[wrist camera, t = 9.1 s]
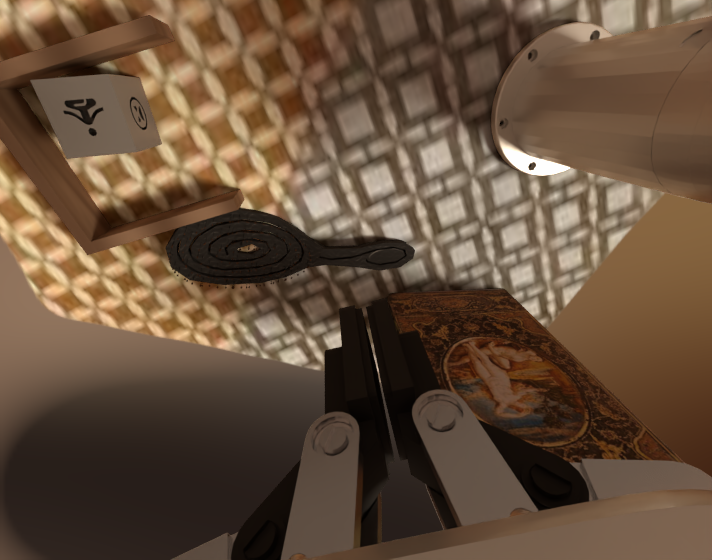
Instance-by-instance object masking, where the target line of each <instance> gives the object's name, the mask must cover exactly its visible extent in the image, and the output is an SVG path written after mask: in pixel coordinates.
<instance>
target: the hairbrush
mask: <svg viewBox="0 0 712 560" xmlns="http://www.w3.org/2000/svg"><path fill="white" fill-rule="evenodd" d="M242 219H246V220H242ZM251 220H253V221H251ZM257 221H260V222H257ZM220 222H221V223H220ZM222 222H223V223H222ZM263 222H267V223H271V224H273V225H271V224H267V223H263ZM218 223H220V224H218ZM215 224H217V225H215ZM291 224H292V223H291ZM291 224H290V222H289V223H288V221H287V222H286V221H285V220H283V219H282V218H280V217H277V216H274V215H271V214H267V213H264V212H261V211H256V210H249V209H241V208H239V209H238V210H235V211H232V212H229V213H225V214H222V215H219V216H215V217H212V218H209V219H205V220H202V221H199V222H195V223H192V224H189V225H185V226H182V227H179V228H177V229H176V230H175V231H174V233H173V235H172V237H171V239H170V241H169V243H168V245H167V246H166V250H167V254H168V257H169V262H170V264H171V267H172V268H173V269H175V272H174V273H176V271H178V273H180V274H182V275H183V276H185V278H184V280H186V278H188V279H189V280H193V281H200V282H207V283H214V284H221V285H229V284H246V283H249V285H250V283H262V282H266V281H271V280H275V279H279V278H283V277H287V276H289V275H292V274H294V273H296V272H299V271H301V270H303V269H305V268H309V267H314V266H321V265H335V266H349V267H360V268H367V269H374V270H385V269H391V268H397V267H401V266H402V265H404V264H405V263H407V262H408V261H410V260H411V259H413V256H414V252H415V250H414V249H413V247H411V246H409V245H408V244H406V242H405V243H404V241H402V240H381V241H376V242H372V243H367V244H362V245H358V246H324V245H322V244H320V243H319V242H317V241H315V240H313V239H312V238H310V237H308V236H307V235H306V234H305V233H304V232H302V231H301V230H299V229H298V228H296V226H295V227H294V226H293V225H291ZM213 225H215V226H213ZM274 225H275V226H274ZM276 226H278V227H276ZM284 229H285V230H284ZM205 230H206V231H205ZM240 230H242V231H240ZM243 230H254V231H243ZM286 230H287V231H289V232H290V233H291V234H290V233H289V232H287V231H286ZM203 231H204V232H203ZM235 231H236V232H235ZM237 231H238V232H237ZM262 231H264V232H262ZM202 232H203V233H202ZM231 232H232V233H231ZM267 232H269V233H267ZM270 232H271V233H270ZM200 233H202V234H201V235H200V236H198V237H197V238H196V239H195V240H194V242H193V245H192V246H191V250H190V245H191V243H192V241H193V239H194V238H195V236H197V235H198V234H200ZM272 233H273V234H272ZM274 234H275V235H274ZM221 235H222V236H221ZM276 235H277V236H276ZM218 237H219V238H218ZM216 238H217V239H216ZM253 238H256V239H253ZM281 238H282V239H284V241H286V243H287V244H285V242H284V241H283V240H282V239H281ZM296 238H297V239H298V240H299V242H300V243H301V245H302V247H303V249H304V252H303V254H302V248H301V245H300V243H299V242H298V240H296ZM181 239H182V240H181ZM215 239H216V240H215ZM257 239H259V240H257ZM180 240H181V244H180ZM213 240H215V241H214V242H213V243H212V244H211V248H210V250H209V245H210V243H211V242H212V241H213ZM233 240H236V241H234V242H233ZM261 240H264V241H261ZM265 241H267V243H266V242H265ZM230 243H231V244H230ZM179 244H180V249H179ZM228 244H229V245H228ZM251 244H253V245H254V247H255V246H257V247H259V248H260V250H257V249H256V251H252V252H248V253H247V252H241V249H239V251H238V250H237V249H238V248H241V247H244V246H247V245H251ZM267 244H268V245H269V247H270V250H269V247H268V245H267ZM287 245H288V248H289V252H288V253H287ZM226 246H227V250H226ZM402 249H404V251H405V254H404V251H403V250H402ZM178 250H179V252H178ZM248 250H249V248H248ZM254 250H255V249H254ZM268 250H269V253H268V254H266V255H264V254H265V253H266V252H268ZM191 252H192V253H191ZM301 254H302V255H301ZM259 256H261V257H259ZM283 256H284V257H283ZM256 257H259V258H256ZM282 257H283V258H282ZM253 258H254V259H253ZM280 258H281V259H280ZM245 259H246V260H245ZM279 259H280V260H279ZM366 259H367V260H366ZM277 260H279V261H278V262H276V261H277ZM298 260H299V261H298ZM274 262H275V263H274ZM271 263H272V264H271ZM265 264H268V265H265ZM260 265H264V266H260ZM292 265H293V266H292ZM254 266H255V267H254ZM242 267H243V268H242ZM287 267H288V268H287ZM173 269H172V270H173ZM271 272H273V273H271ZM303 272H305V271H303ZM266 273H268V274H266ZM261 274H262V275H261ZM298 275H299V274H297V276H298ZM177 276H178V275H177ZM291 279H292V277H291ZM286 280H287V279H285V281H286ZM187 281H188V280H187ZM278 282H279V280H278ZM192 284H193V282H192ZM202 284H203V283H202ZM271 284H272V283H271ZM273 284H274V282H273ZM200 286H203V285H200ZM260 286H261V284H260ZM264 286H265V285H264ZM209 287H210V285H209ZM256 287H257V285H256ZM217 288H218V286H217ZM225 288H226V287H225ZM241 288H242V287H241ZM246 288H247V287H246ZM249 288H250V286H249ZM232 289H234V287H233V286H232Z"/></svg>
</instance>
